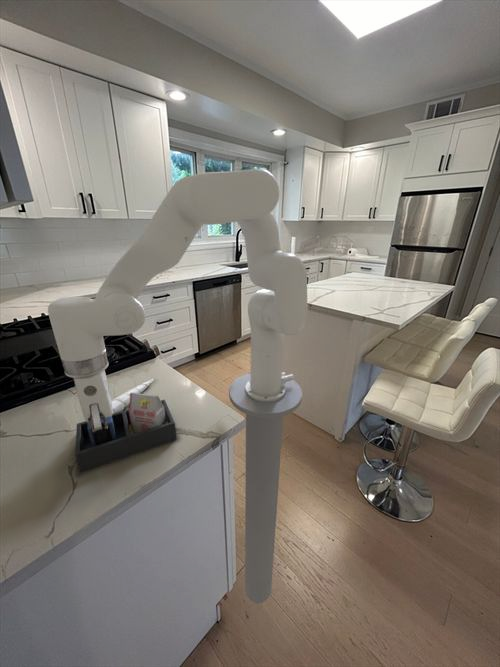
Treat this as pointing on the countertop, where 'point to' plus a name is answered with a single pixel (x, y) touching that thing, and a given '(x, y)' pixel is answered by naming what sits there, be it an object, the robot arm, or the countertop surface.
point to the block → (109, 422)
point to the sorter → (121, 440)
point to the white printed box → (145, 412)
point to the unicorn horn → (127, 397)
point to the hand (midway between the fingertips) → (103, 434)
